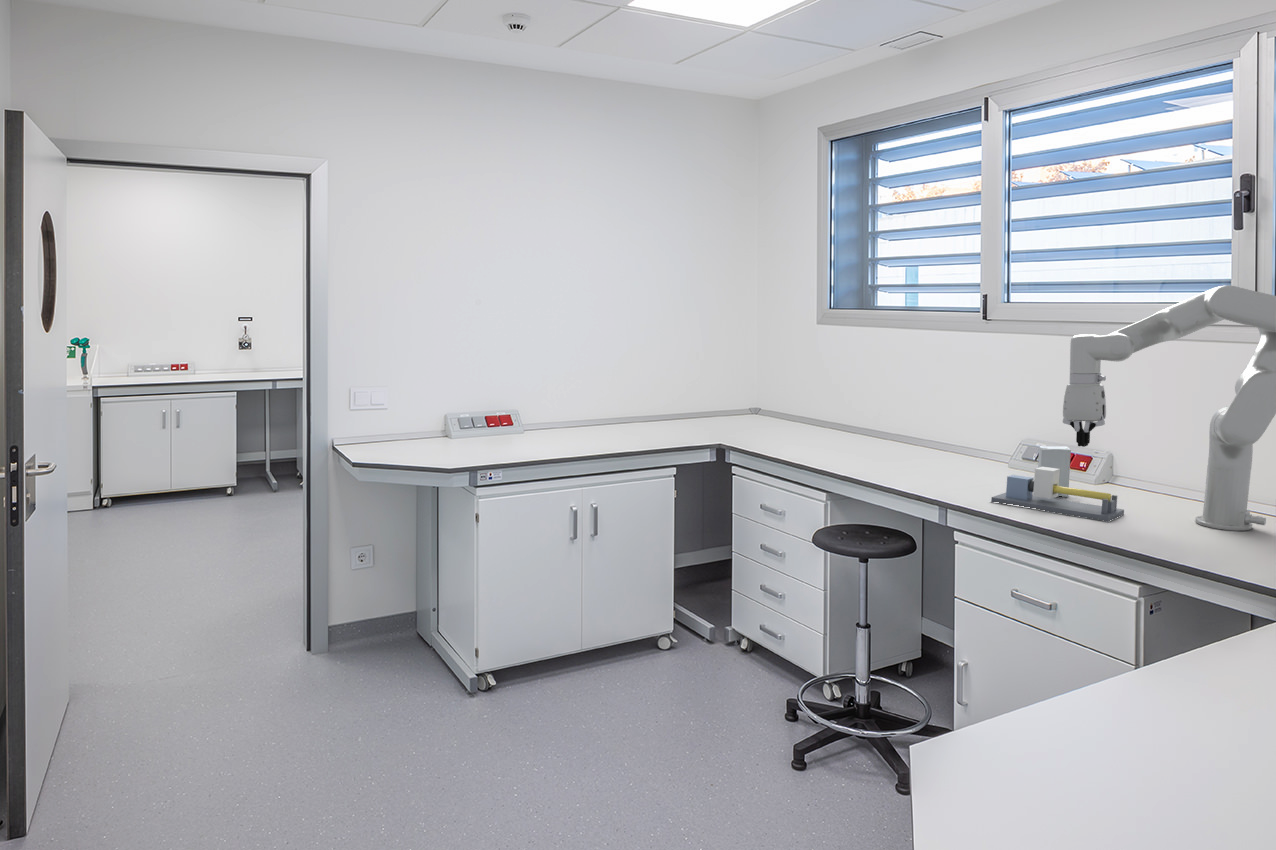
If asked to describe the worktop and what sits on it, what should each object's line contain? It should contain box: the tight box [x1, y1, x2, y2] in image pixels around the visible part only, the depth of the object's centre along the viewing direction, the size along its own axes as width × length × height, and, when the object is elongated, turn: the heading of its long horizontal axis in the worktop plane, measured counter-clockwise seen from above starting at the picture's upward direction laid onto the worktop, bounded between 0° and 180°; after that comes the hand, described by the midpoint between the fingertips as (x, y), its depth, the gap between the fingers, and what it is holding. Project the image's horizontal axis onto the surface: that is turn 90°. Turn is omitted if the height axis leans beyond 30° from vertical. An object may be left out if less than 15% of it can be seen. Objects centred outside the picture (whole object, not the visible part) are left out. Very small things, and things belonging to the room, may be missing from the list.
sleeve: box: [1032, 467, 1060, 499], centre depth 254 cm, size 5×5×8 cm
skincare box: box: [1037, 445, 1072, 498], centre depth 270 cm, size 8×6×15 cm
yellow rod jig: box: [990, 474, 1125, 522], centre depth 252 cm, size 32×12×8 cm, turn 44°
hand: (1082, 445), depth 246 cm, fingers closed
